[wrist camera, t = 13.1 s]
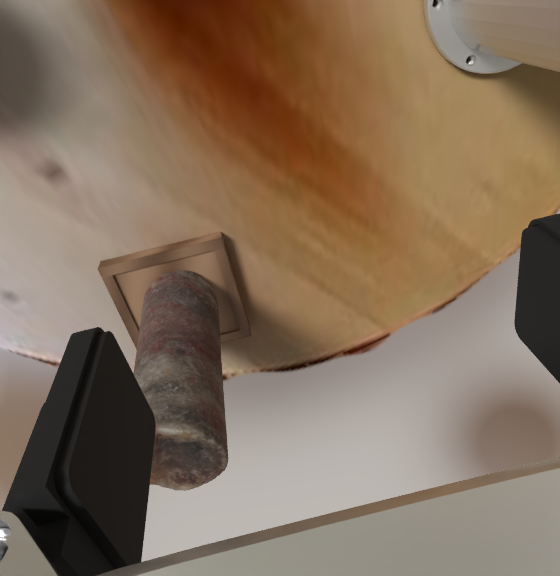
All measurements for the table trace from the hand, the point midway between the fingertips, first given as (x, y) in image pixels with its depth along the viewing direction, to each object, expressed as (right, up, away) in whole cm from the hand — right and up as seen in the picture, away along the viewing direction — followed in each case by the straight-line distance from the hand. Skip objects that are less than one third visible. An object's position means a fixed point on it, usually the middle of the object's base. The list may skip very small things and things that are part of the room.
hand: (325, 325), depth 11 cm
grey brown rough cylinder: (-11, 0, +38) cm, 40 cm away
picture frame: (-11, 0, +39) cm, 41 cm away
